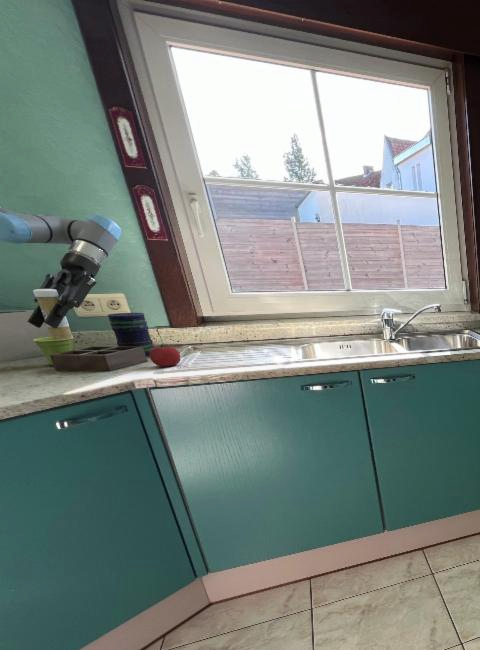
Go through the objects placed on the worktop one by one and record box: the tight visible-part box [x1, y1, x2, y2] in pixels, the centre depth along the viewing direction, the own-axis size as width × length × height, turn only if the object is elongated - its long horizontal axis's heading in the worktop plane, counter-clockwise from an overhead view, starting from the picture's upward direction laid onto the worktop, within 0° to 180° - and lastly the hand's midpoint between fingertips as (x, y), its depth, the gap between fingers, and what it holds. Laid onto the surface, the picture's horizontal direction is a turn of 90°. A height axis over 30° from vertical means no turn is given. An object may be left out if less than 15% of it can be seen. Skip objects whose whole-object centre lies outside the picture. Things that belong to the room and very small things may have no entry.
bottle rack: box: [50, 345, 148, 372], centre depth 164 cm, size 16×16×5 cm
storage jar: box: [107, 312, 156, 358], centre depth 178 cm, size 10×10×15 cm
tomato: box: [149, 343, 182, 368], centre depth 166 cm, size 8×8×7 cm
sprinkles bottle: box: [32, 288, 74, 339], centre depth 139 cm, size 5×5×14 cm
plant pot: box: [32, 336, 75, 367], centre depth 164 cm, size 9×9×9 cm
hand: (42, 324), depth 136 cm, fingers closed on sprinkles bottle, 4 cm apart
